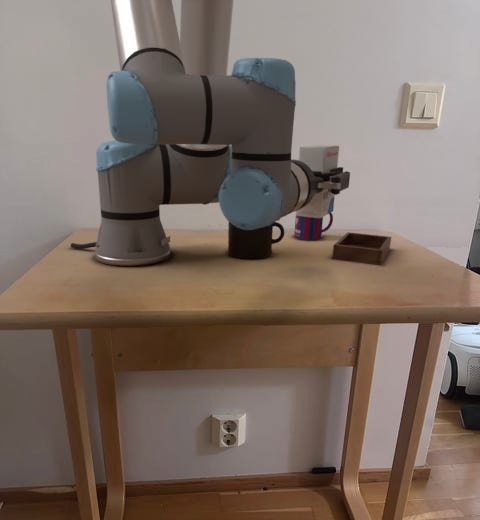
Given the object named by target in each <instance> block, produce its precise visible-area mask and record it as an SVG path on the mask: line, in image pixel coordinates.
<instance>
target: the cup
mask: <svg viewBox="0 0 480 520" xmlns="http://www.w3.org/2000/svg"><path fill="white" fill-rule="evenodd" d="M328 215H329V222H328V223H327V226H326V227H325V228H323V222H324V217H322V218H313V217H304V216H296V215H295V217H294V219H295V220H294V221H295V222H294V236H293V237H294V239H297V240H302V241H319V240H321V239H322V233H325V232H327V231H328V230H330V228H331V227H332V225H333V221H334V216H333V213H332V212H331V213H329V214H328Z"/></svg>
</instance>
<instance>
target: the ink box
mask: <svg viewBox="0 0 480 520" xmlns="http://www.w3.org/2000/svg"><path fill="white" fill-rule="evenodd" d="M298 152H299V153H298V155H299V156H298V160H299V161H301V162H303V163H305V164H306V165H308V166H309V167H310V169H311V170H312V171H321V172H322V173H325V172H330V171H331V170H332V169H335V168H338V163H339V153H340V146H339V145H332V144H331V145H330V144H329V145H323V144H322V145H321V144H320V145H319V144H318V145H316V144H315V145H307V146H306V145H305V146H299V151H298ZM335 196H336V195H334V194H332V193H329V192H328V189H323V191H322V192H320V193H317V194H315V195H314V197H313V198H312V200H311V201H310V202H309V203H308V204H307V205H306V206H305V207H303V208H301V209H299V210H297V211H295V217H296V216H304V217H313V218H322V217H323V218H324V217H326V216H327V215H329V213H332V212H334V206H335V198H336V197H335Z"/></svg>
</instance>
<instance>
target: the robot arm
mask: <svg viewBox="0 0 480 520" xmlns="http://www.w3.org/2000/svg"><path fill="white" fill-rule="evenodd" d="M110 5H111V12H112V20H113V27H114V34H115V41H116V48H117V56H118V62H119V70H117V71H115V70H114V71H111V72H109V73H108V74H107V77H106V103H107V113H108V124H109V132H110V135H111V137H112V138H113V139H114V140H109V141H105V142H102V143H100V144H99V145H98V146H97V148H96V152H95V154H96V155H95V157H96V167H95V171H96V172H97V180H98V182H97V183H98V195H99V207H100V221H101V222H100V225H99V228H98V234H97V239H96V241H94V242H88V243H74V242H72V243H70V248H73V249H78V250H80V249H81V250H85V249H90V248H94V255H95V256H94V257H95V260H97V261H98V262H100V263H103V264H106V265H110V266H121V267H134V266H135V267H136V266H138V267H139V266H146V265H153V264H157V263H162V262H163V261H166V260H168V259H169V258H170V257H171V248H170V247H171V246H170V243H171V235H169V236H167V235H166V232H165V229H164V226H163V224H162V221H161V215H160V214H161V212H160V210H161V209H160V206H163V205H165V206H166V205H170V206H171V205H204V206H205V205H206V206H207V205H209V204H217V203H218V204H219V208H220V211H221V213H222V214H223V216H224V218H225V219H226V220H227V221H228V223H229V222H230V223H231V224H233V225H234V226H236V227H238V228H240V229H244V230H253V229H258V228H261V227H266V226H269V225H271V224H273V223H274V222H278V221H280V220H281V219H282V218H284V217H287V216H288V215H290V214H292V213H294V212H295V213H296V211H297V210H299V209H301V208H303V207H305V206H306V205H307V204H308V203H309V202H310V201H311V200H312V198H313V197H314V195H315V194H317V193H320V192H322V191H323V189H328V192H329V193H332V194H334V195H335V196H336V195H337V196H338V195H340V194H341V192H342V191H344V190H346V189H348V188H349V187H350V178H351V172H350V171H347V170H346V171H344V167H343V166H342V167H341V166H339V167H338V166H337V168H335V169H332V170H331V171H330V172H325V173H322V172H321V171H312V170H311V169H310V167H309V166H308V165H306V164H305V163H303V162H301V161H299V159H292V150H293V149H292V147H293V133H294V121H295V112H296V104H297V103H296V82H297V81H296V70H295V67H294V65H293V64H292V63H291V62H290V61H288V60H286V59H282V58H272V57H246V58H245V57H244V58H239V59H237V60H235V62H234V63H233V66H232V72H231V74H230V75H228V66H229V57H230V45H231V32H232V22H233V12H234V11H233V10H234V0H180V23H179V26H180V29H179V31H178V25H177V21H176V16H175V10H174V5H173V0H110Z"/></svg>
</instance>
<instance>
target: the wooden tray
mask: <svg viewBox="0 0 480 520" xmlns="http://www.w3.org/2000/svg"><path fill="white" fill-rule="evenodd" d="M391 242H392V236H387V235H378V234H369V233H368V234H367V233H360V232H359V233H358V232H349V231H348V232H346V233H345V234H344V235H343V236H342V237H340V238H339V239H338V240H337V241H336V242H335V243H334V244H333V246H332V247H333V248H332V256H331V257H332V258H331V259H332V260H340V261H347V262H355V263H361V264H362V263H364V264H370V265H380V266H381V265H382V263H383V261H384V260H385V258H386V256H387V255H388V253H389V251H390V250H391Z"/></svg>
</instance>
